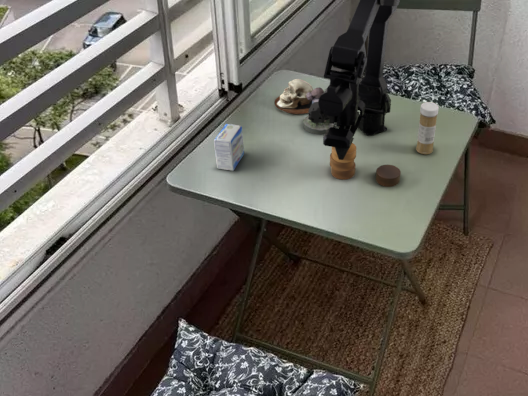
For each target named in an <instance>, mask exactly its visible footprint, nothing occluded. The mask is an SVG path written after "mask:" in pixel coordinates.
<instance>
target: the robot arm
mask: <svg viewBox="0 0 528 396" xmlns="http://www.w3.org/2000/svg"><path fill="white" fill-rule="evenodd" d="M400 1H401V0H359V1H358V3H357V5H356V8H355V10H354V13H353V15H352V17H351V20H350V22H349V25H348V27H347V29H346V31H345V32H344V33H342V34H340V35H339V36H337V38H336V40H335V41H334V43H333V45H332V46H331V47H330V49H329V51H328V55H327V59H326V65H325V68H324V73H323V79H328V80H329V85H328V86H327V87H326V89H325V90H323V91H324V93H323V94H322V95H321V96H320V98H319V100H318V102H314V103H313V104H312V105H311V107H310V108H309V110H308V111H309V113H307V115H308V116H309V117H308V119H309V120H311V122H313V123H318V122H322V121H325V120H329V123H333V124H334V125H335V126H334V127H330V128H329V129H327V130H326V133H325V134H323V137H322V145H323V146H325V147H331V148H332V147H335V149H336V153H337V156H338V159H339V160H343V159H344V157H345V155H346V153H347V152H348V150H349V148H350V146H351V144H352V143H353V141H354V136H355V135H356V132H357V130H358V129H359V130H360V131H361V132H362V133H364V134H365V135H366V136H368V137H370V136H374V135H378V134H380V133H383V132H386V131H388V127H387V126H385V120H386V115H387V114H389V113H391V109H392V99H391V97H390V95H389V94H388V83H387V82H386V79H385V77H384V67H385V66H384V65H385V57H386V48H387V41H388V31H389V21H390V19H391V18H392V16H393V15H394V14H395V13H396V12H397V9H398V6H399V5H400ZM367 38H368V40H367ZM366 41H367V49H366V45H365V43H366ZM332 68H333V69H332ZM334 69H338V70H334ZM363 76H364V77H363ZM360 79H361V80H360Z"/></svg>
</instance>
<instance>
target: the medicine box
mask: <svg viewBox="0 0 528 396" xmlns="http://www.w3.org/2000/svg"><path fill="white" fill-rule="evenodd" d="M213 145H214V154H215V160H216V161H215V162H216V163H215V164H216V169H218V170H224V171H231V172H234V170H235V169H236V168H237V166H238V164H239V163H240V161H241V159H242V158H243V156H244V155H245V150H244V149H245V148H244V135H243V126H242V125H238V124H234V123H233V124H232V123H225V125H224V126H223V127H222V129H221V130H220V131H219V132H218V134H217V135H216V136H215V138H214V139H213Z"/></svg>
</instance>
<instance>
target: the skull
mask: <svg viewBox="0 0 528 396" xmlns="http://www.w3.org/2000/svg"><path fill="white" fill-rule="evenodd" d="M287 85H288V86H287V87H285V88H284V91H283V92H282V93H281V94H280V95H279V96H278V97H276V98H275V99H274V106H275V107H276V108H277V109H278V110H280V111H281V112H284V113H288V114H292V115H301V114H303V115H304V114H308V113H309V111H308V110H309V108H310V107H311V105H312V101H313V100H308V99H307V97H306V94H307V93H308V92H312V91H313V90H314V88H313V85H311V84H310V83H309V82H307V81H306V80H304V79H301V78H295V79H292V80H290V81H289V82H288V84H287Z"/></svg>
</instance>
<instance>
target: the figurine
mask: <svg viewBox="0 0 528 396" xmlns="http://www.w3.org/2000/svg"><path fill="white" fill-rule="evenodd" d="M324 91H325V90H324V89H323V88H321V87H315V88H313V91H312V92H308V93H307V94H306V97H307V99H308V100H313V101H312V104H313V103H314V102H318V100H319V98H320V96H321V95H322V94H323V93H324ZM308 117H309V115H307V116H305V117H304V118H303V123H302V124H303V129H304V131H306V132H308V133H310V134H313V135H325V133H326V130H327V129H329V128H330V127H334V128H335V123H334V124H333V123H329V120H325V121H322V122H318V123H313V122H311V120H309V119H308Z"/></svg>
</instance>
